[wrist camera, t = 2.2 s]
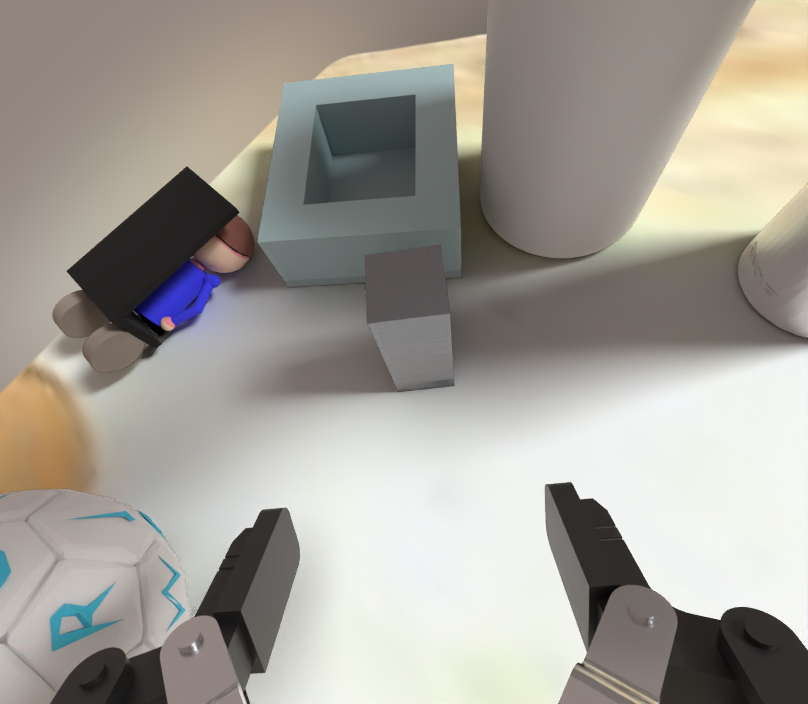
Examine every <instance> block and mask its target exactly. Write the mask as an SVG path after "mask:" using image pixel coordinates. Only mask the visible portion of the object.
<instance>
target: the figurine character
mask: <svg viewBox="0 0 808 704" xmlns="http://www.w3.org/2000/svg"><path fill="white" fill-rule="evenodd" d="M238 214H239V211H238V210H237V209H236V208H235V207H234V206H233V205H232V204H231V203H230V202H228V201H227V200H226V199H225V198H224V197H222V196H221V195H220V194H219V193H218V192H217V191H215V190H214V189H213V188H212V187H211V186H210V185H208V184H207V183H206V182H205V181H204V180H202V179H201V178H200V177H199V176H198V175H197V174H195V173H194V172H193V171H192V170H191V169H189V168H188V167H186V168H184V169H183V170H182V171H181V172H180V173H179V174H178V175H176V176H175V177H174V178H173V179H172V180H171V181H169V183H167V184H166V185H165V186H164V187H163V188H161V189H160V190H159V191H158V192H157V193H156V194H155V195H153V196H152V197H151V198H150V199H149V200H148V201H147V202H145V203H144V204H143V205H142V206H141V207H140V208H138V209H137V210H136V211H135V212H134V213H133V214H132V215H130V216H129V217H128V218H127V219H126V220H125V221H124V222H122V223H121V224H120V225H119V226H118V227H117V228H116V229H114V230H113V231H112V232H111V233H110V234H109V235H108V236H107V237H105V238H104V239H103V240H102V241H101V242H99V243H98V244H97V245H96V246H95V247H94V248H92V249H91V250H90V251H89V252H88V253H87V254H86V255H85V256H83V257H82V258H81V259H80V260H79V261H78V262H76V263H75V264H74V265H73V266H72V267H71V268H70V269H68V270H67V272H68V273H69V275H70V276H71V277H72V278H73V279H74V280H75V282H76V283H77V284H78V285H79V286H80V287H81V288H82V290H79V291H76V292H73V293H71V294H69V295H67V296H65V297H64V298H62V299H61V300H60V301H59V302H58V303H57V304H56V306H55V308H54V310H53V320H54V322H55V323H56V324H57V325H58V327H59V328H60V329H61V330H62V332H63V333H64V334H66V335H67V336H69V337H73V338H83V337H88V336H89V337H88V339H87V340H86V341H85V343H84V345H83V350H82V351H83V355H84V357H85V358H86V360H87V361H88V362H89V363H90V364H91V366H92V367H93V368H94V369H95V370H96V371H99V372H103V373H109V372H115V371H118V370H121V369H123V368H125V367H127V366H128V365H130V364H131V363H133V362H134V361H135V360H136V359H137V358H138V357H139V356H140V354H141V353H142V351H143V349H144V342H145V343H147V344H149V346H148V347H147V348H146V349H145V350H144V352H143V355H142V358H144V357H147V356H150V354H151V353H152V352H153V351H154V350H155V349H156V348H157V347H158V346H160V345H161V344H162V342H163V341H164V340H165V339H166V338H167V336H168V335H169V334H170V331H171V330H173V329H174V328H175V326H176V325H178V324H180V323H182V322H184V321H186V320H188V319H190V318H192V317H194V316H196V315H197V314H199V313H202V311H203V309H204V306H205V304H206V302H207V300H208V298H209V296H210V294H211V292H212V290H213V288H215V287H218V286H219V285H220V279H219V277H218V276H216V275H214V274H207V273H206V272H205V271H204V270H205V269H206V268H207V269H209V270H212V271H215V272H220V273H229V272H234V271H237V270H239V269H241V268H242V267H243V266H245V265H246V264H247V263H248V261H249V260H250V258H251V256H252V254H253V250H254V238H253V235H252V232H251V230H250V228H249V226H248V225H247V224H246V222H245V221H244V220H243V219H242V218H240V217H239V216H238ZM192 256H193V257H194V258H195V259H196V260H197V261H196V260H195V259H194V258H192V259H190V258H191V257H192ZM198 294H199V295H198ZM197 295H198V297H197ZM196 297H197V299H196V302H195V304H194V306H192V307H190V308H188V309H186V310H184V309H185V308H186V307H187V306H188V305H189V304H190V303H191V302H192V301H193V300H194V299H195V298H196ZM133 310H134V311H135V312H136V313H137V314H138V315H136V314H135V313H134V312H133ZM183 310H184V311H183ZM109 322H112V324H109ZM144 323H145V324H146V325H148V326H149V327H150V328H151V329H152V330H153V331H154V332H155V333H156V334H157V335H158V336H157V337H156V336H155V335H154V334H153V333H152V332H151V331H150V330H149V329H148V328H147V326H146V325H145V324H144Z"/></svg>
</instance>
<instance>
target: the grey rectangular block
mask: <svg viewBox="0 0 808 704" xmlns="http://www.w3.org/2000/svg"><path fill="white" fill-rule="evenodd" d="M364 260H365V281H366V302H367V323H368V326H369V328H370V330H371V333H372V335H373V337H374V339H375V341H376V344H377V346H378V348H379V350H380V353H381V355H382V357H383V359H384V361H385V364H386V366H387V368H388V370H389V373H390V375H391V377H392V379H393V381H394V384H395V386H396V388H397V390H398V392H403V391H412V390H421V389H430V388H439V387H448V386H454V371H453V354H452V338H451V321H450V309H449V302H448V294H447V287H446V279H445V271H444V264H443V256H442V249H441V245H434V246H427V247H420V248H413V249H405V250H398V251H391V252H384V253H377V254H369V255H364Z"/></svg>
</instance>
